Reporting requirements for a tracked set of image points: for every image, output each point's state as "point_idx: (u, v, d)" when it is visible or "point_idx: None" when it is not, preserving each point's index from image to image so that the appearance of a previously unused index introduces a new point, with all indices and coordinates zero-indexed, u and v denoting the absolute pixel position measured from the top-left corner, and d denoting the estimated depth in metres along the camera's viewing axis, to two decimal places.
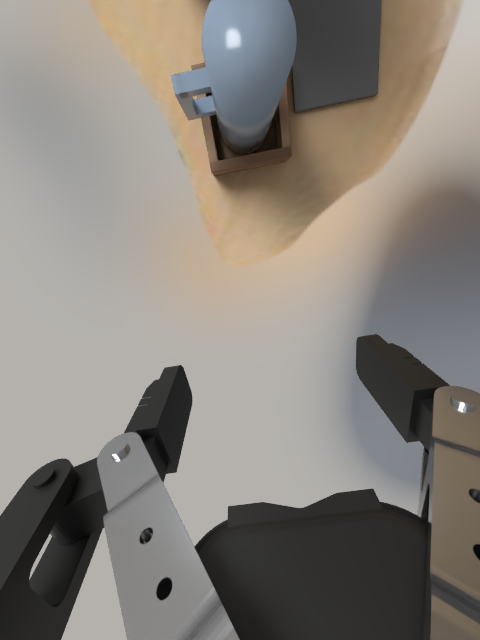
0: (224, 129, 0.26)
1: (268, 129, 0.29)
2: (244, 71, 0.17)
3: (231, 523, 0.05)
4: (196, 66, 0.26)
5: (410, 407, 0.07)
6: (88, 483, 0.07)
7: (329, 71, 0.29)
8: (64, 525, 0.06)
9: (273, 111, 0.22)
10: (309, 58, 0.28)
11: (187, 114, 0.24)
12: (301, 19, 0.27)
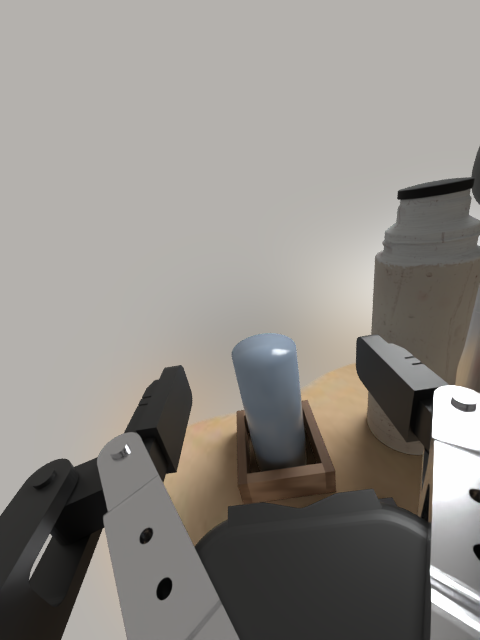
0: None
1: (266, 462, 0.27)
2: (249, 348, 0.25)
3: (231, 523, 0.05)
4: (307, 403, 0.33)
5: (410, 407, 0.07)
6: (88, 483, 0.07)
7: None
8: (64, 525, 0.06)
9: (249, 408, 0.24)
10: None
11: None
12: None
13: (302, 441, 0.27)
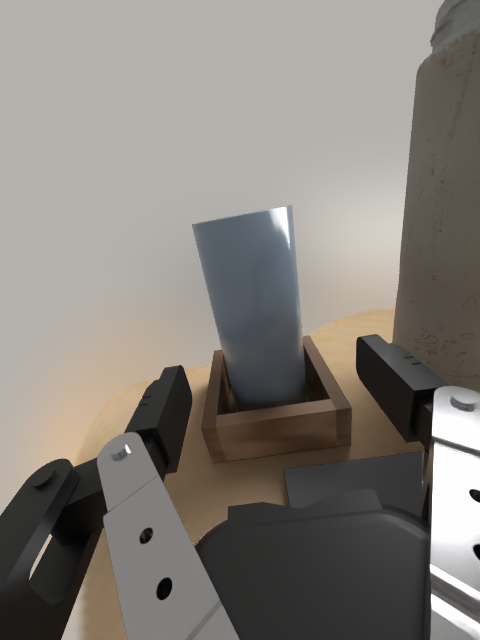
0: None
1: (248, 404, 0.18)
2: None
3: (231, 523, 0.05)
4: (309, 338, 0.24)
5: (410, 407, 0.07)
6: (88, 483, 0.07)
7: None
8: (64, 525, 0.06)
9: (219, 308, 0.16)
10: None
11: None
12: None
13: (301, 372, 0.18)
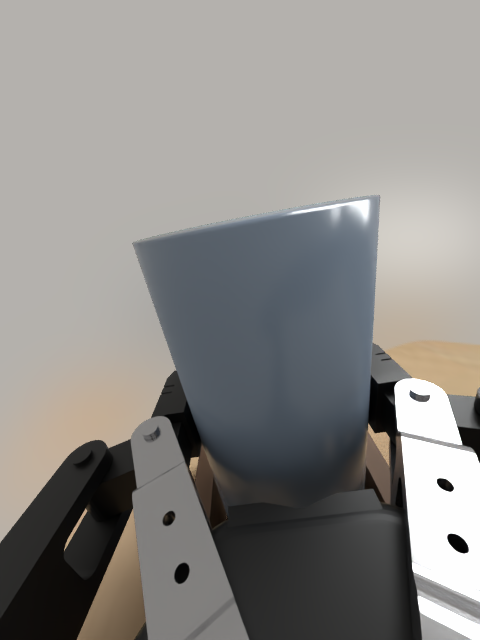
0: None
1: None
2: (205, 226, 0.07)
3: (231, 523, 0.05)
4: None
5: (376, 399, 0.08)
6: (122, 463, 0.07)
7: None
8: (98, 503, 0.07)
9: (201, 425, 0.07)
10: None
11: None
12: None
13: None
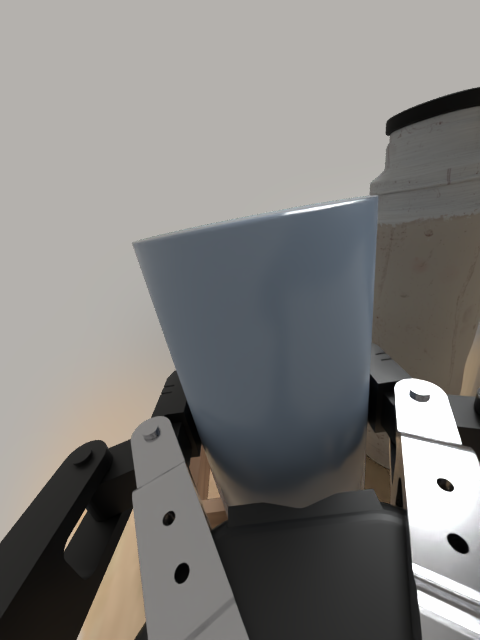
0: None
1: None
2: (204, 226, 0.07)
3: (231, 523, 0.05)
4: None
5: (376, 399, 0.08)
6: (122, 462, 0.07)
7: None
8: (98, 503, 0.07)
9: (201, 425, 0.07)
10: None
11: None
12: None
13: None
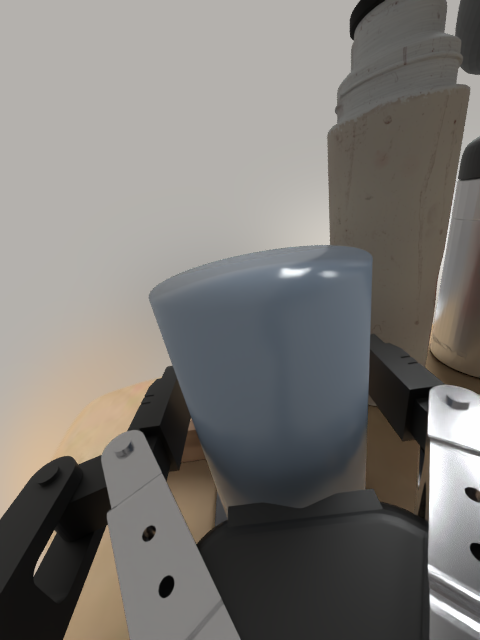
0: None
1: None
2: (213, 272, 0.08)
3: (231, 523, 0.05)
4: None
5: (406, 406, 0.07)
6: (92, 480, 0.07)
7: None
8: (68, 522, 0.06)
9: (211, 458, 0.08)
10: None
11: None
12: None
13: None
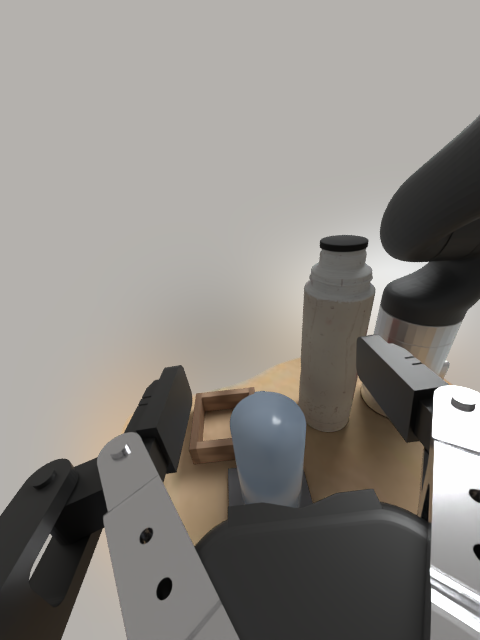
0: None
1: None
2: (251, 416, 0.21)
3: (231, 523, 0.05)
4: (253, 389, 0.41)
5: (410, 407, 0.07)
6: (88, 483, 0.07)
7: None
8: (64, 525, 0.06)
9: (245, 482, 0.21)
10: None
11: None
12: None
13: (298, 507, 0.25)
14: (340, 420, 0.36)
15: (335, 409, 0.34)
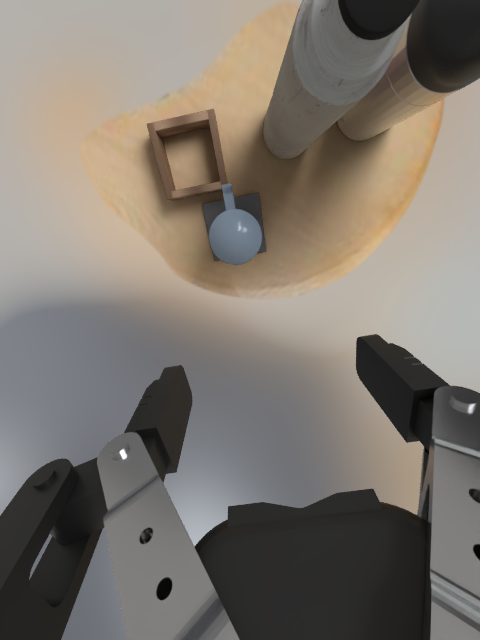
0: None
1: None
2: (223, 235, 0.29)
3: (231, 523, 0.05)
4: (213, 113, 0.35)
5: (410, 407, 0.07)
6: (88, 483, 0.07)
7: None
8: (64, 525, 0.06)
9: None
10: None
11: None
12: (247, 203, 0.42)
13: None
14: (299, 153, 0.38)
15: (296, 151, 0.35)
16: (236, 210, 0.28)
